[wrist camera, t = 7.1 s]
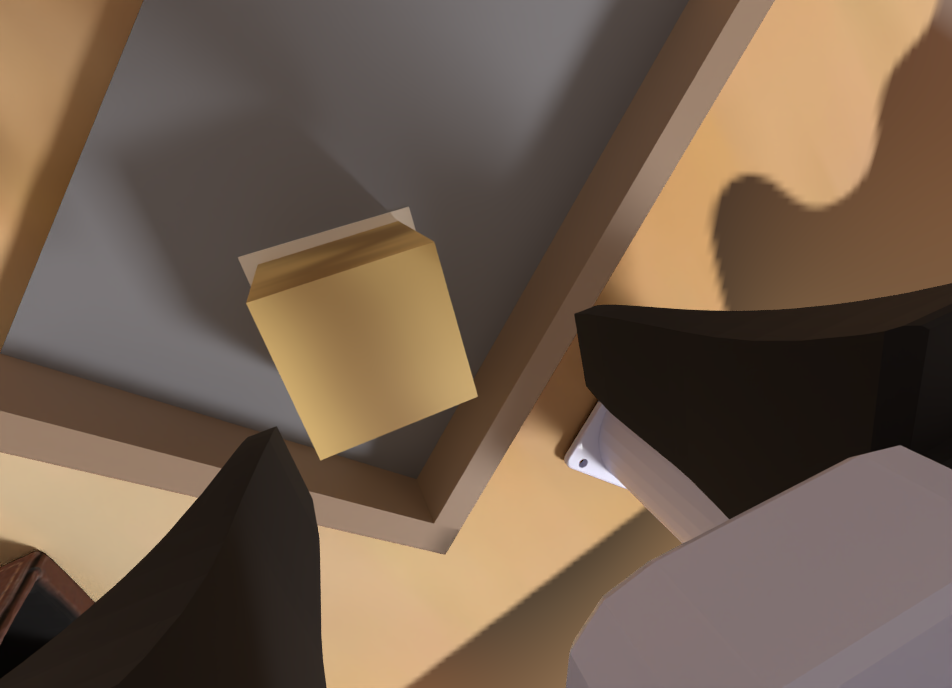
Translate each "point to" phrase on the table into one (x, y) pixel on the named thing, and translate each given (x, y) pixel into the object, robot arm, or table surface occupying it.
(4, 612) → the letter holder
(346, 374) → the ochre block
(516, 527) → the table surface
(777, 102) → the table surface
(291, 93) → the arena
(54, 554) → the table surface
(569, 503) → the table surface
